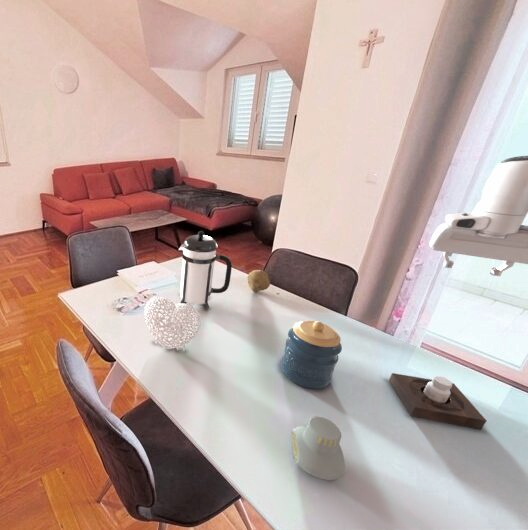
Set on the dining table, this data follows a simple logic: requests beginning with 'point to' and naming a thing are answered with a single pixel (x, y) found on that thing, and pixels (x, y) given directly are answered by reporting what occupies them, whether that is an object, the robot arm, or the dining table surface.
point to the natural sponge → (258, 280)
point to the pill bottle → (438, 389)
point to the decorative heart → (171, 322)
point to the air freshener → (318, 448)
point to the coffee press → (200, 269)
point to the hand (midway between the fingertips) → (470, 271)
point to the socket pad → (435, 403)
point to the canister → (311, 354)
